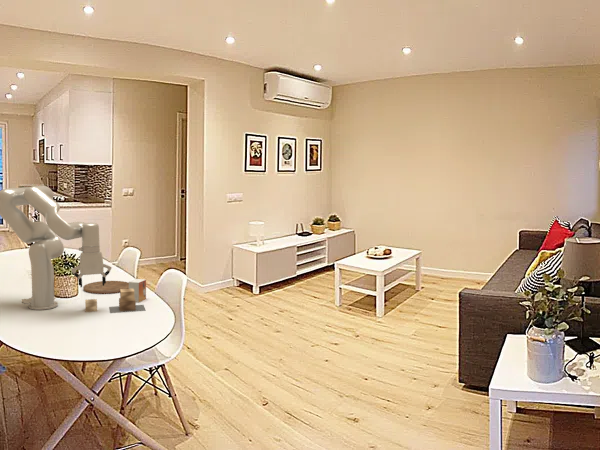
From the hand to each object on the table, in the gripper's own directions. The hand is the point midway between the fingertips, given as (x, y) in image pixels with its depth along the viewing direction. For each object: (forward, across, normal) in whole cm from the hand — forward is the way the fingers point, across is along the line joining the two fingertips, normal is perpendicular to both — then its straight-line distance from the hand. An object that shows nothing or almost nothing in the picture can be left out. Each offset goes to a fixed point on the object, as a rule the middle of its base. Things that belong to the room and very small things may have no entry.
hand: (92, 285), depth 246 cm
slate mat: (+12, +15, -1) cm, 20 cm away
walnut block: (+12, +15, -1) cm, 19 cm away
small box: (+13, +21, +14) cm, 28 cm away
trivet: (+12, +8, +44) cm, 46 cm away
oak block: (+7, +15, -2) cm, 17 cm away
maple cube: (+12, -1, +1) cm, 12 cm away
